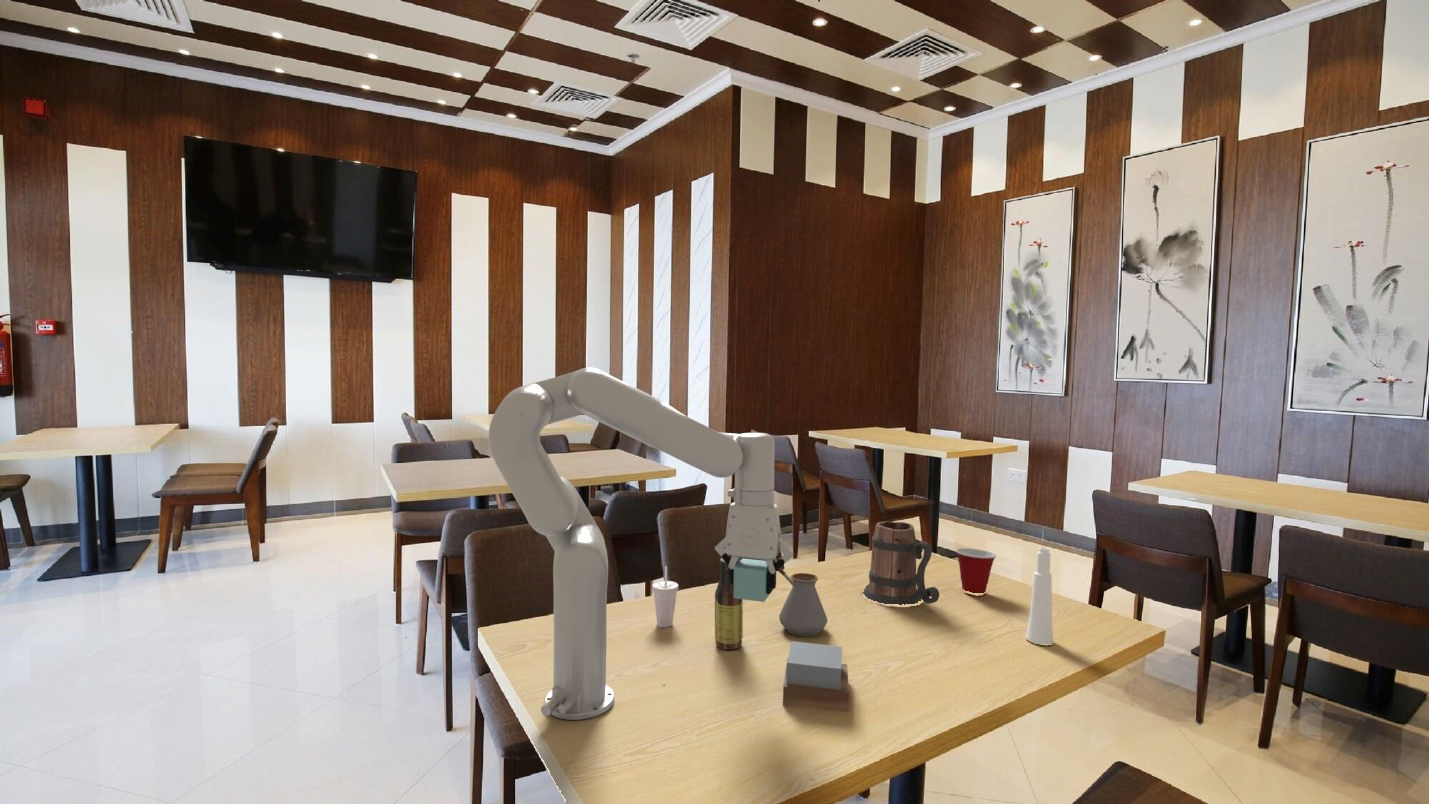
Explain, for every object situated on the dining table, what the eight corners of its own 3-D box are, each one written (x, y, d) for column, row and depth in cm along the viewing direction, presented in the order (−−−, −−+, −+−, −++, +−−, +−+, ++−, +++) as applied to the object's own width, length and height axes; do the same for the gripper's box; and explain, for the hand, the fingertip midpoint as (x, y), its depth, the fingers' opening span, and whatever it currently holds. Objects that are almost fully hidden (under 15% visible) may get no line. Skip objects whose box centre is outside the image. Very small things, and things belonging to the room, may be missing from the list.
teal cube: (764, 602, 125) (764, 570, 125) (733, 598, 127) (733, 567, 127) (771, 591, 131) (772, 561, 130) (742, 588, 133) (742, 558, 132)
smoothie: (679, 619, 164) (680, 564, 163) (675, 630, 157) (676, 572, 157) (654, 618, 164) (655, 562, 164) (649, 628, 158) (649, 570, 157)
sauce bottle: (726, 637, 154) (728, 552, 153) (748, 644, 150) (750, 558, 149) (708, 646, 149) (709, 558, 148) (730, 654, 145) (732, 564, 144)
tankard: (848, 592, 186) (850, 521, 185) (891, 583, 195) (893, 515, 194) (912, 620, 166) (915, 541, 165) (957, 609, 175) (961, 534, 174)
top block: (840, 690, 123) (841, 669, 123) (786, 683, 125) (786, 662, 125) (841, 666, 133) (841, 646, 133) (790, 660, 135) (791, 641, 134)
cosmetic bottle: (1024, 643, 154) (1029, 549, 153) (1025, 633, 159) (1030, 543, 158) (1053, 648, 151) (1058, 553, 150) (1054, 639, 157) (1058, 547, 155)
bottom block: (848, 714, 122) (849, 693, 122) (782, 707, 124) (783, 686, 124) (846, 683, 134) (847, 664, 134) (786, 677, 136) (787, 658, 136)
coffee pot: (837, 633, 158) (839, 570, 157) (800, 643, 151) (802, 579, 150) (779, 605, 175) (780, 549, 174) (744, 613, 169) (745, 555, 168)
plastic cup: (997, 591, 190) (999, 549, 189) (991, 602, 180) (992, 558, 180) (958, 583, 195) (959, 543, 195) (949, 594, 186) (951, 552, 185)
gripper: (705, 498, 127) (704, 590, 128) (794, 504, 121) (793, 601, 122) (717, 490, 134) (716, 578, 135) (802, 497, 128) (801, 588, 130)
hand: (753, 588), depth 129 cm, fingers closed on teal cube, 6 cm apart
